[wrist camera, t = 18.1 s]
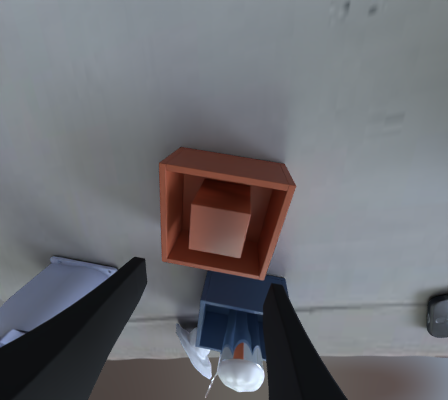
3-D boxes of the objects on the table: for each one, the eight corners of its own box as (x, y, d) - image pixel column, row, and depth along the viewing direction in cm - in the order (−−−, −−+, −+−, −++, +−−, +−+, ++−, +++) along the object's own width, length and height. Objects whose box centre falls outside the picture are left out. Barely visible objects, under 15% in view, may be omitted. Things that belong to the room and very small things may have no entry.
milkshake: (218, 285, 25) (201, 385, 16) (260, 287, 24) (266, 393, 16) (221, 307, 27) (208, 406, 19) (260, 309, 27) (265, 414, 18)
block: (201, 216, 20) (188, 249, 16) (204, 178, 18) (190, 203, 14) (242, 224, 20) (240, 258, 16) (250, 186, 18) (251, 214, 14)
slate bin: (203, 309, 29) (194, 346, 24) (209, 264, 24) (200, 300, 20) (266, 322, 28) (269, 362, 24) (285, 278, 24) (293, 318, 19)
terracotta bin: (178, 229, 22) (161, 261, 18) (180, 146, 18) (158, 162, 13) (261, 244, 22) (263, 280, 17) (284, 163, 17) (296, 186, 13)
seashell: (212, 308, 35) (231, 362, 30) (185, 322, 34) (200, 379, 30) (200, 307, 28) (222, 375, 24) (166, 324, 27) (182, 397, 23)
